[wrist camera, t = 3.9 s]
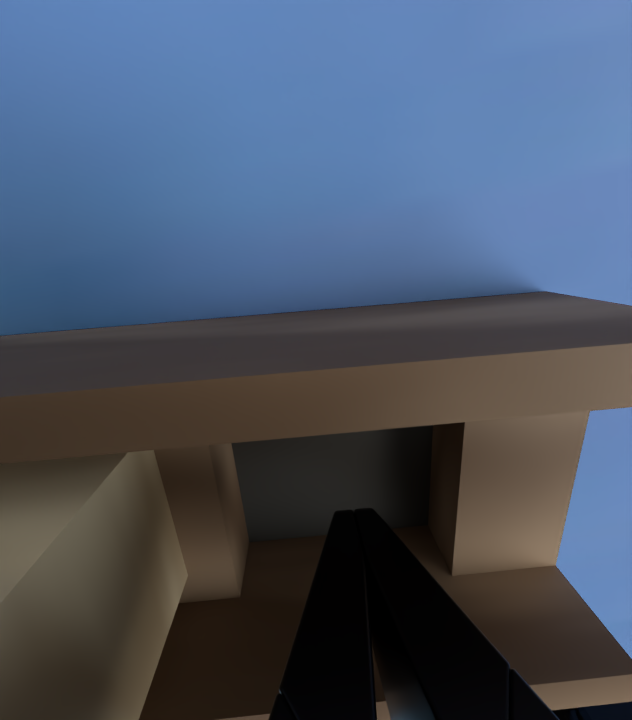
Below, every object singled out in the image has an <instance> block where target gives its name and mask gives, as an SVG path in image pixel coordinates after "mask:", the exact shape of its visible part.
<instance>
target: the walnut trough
mask: <svg viewBox="0 0 632 720" xmlns="http://www.w3.org/2000/svg"><path fill="white" fill-rule="evenodd" d="M627 407H632V306H629V305H624V304H618V303H612V302H606V301H600V300H594V299H588V298H582V297H576V296H570V295H564V294H558V293H552V292H533V293H521V294H509V295H497V296H484V297H472V298H460V299H447V300H435V301H423V302H411V303H398V304H386V305H374V306H361V307H349V308H337V309H325V310H312V311H300V312H288V313H275V314H263V315H251V316H239V317H226V318H214V319H202V320H189V321H177V322H165V323H153V324H140V325H128V326H116V327H103V328H91V329H79V330H67V331H54V332H42V333H30V334H17V335H5V336H0V464H5V463H16V462H27V461H38V460H49V459H60V458H71V457H82V456H94V455H105V454H116V453H127V452H138V451H149V450H154V453H155V457H156V461H157V464H158V468H159V472H160V475H161V479H162V483H163V486H164V490H165V494H166V497H167V501H168V504H169V508H170V512H171V515H172V519H173V523H174V526H175V530H176V534H177V537H178V541H179V545H180V548H181V552H182V556H183V559H184V563H185V567H186V570H187V574H188V577H187V580H186V583H185V586H184V589H183V592H182V594H181V597H180V600H179V603H178V606H177V609H176V612H175V615H174V618H173V621H172V624H171V627H170V630H169V632H168V635H167V638H166V641H165V644H164V647H163V650H162V653H161V656H160V659H159V662H158V665H157V668H156V670H155V673H154V676H153V679H152V682H151V685H150V688H149V691H148V694H147V697H146V700H145V703H144V706H143V708H142V711H141V714H140V717H139V720H268V719H269V716H270V713H271V710H272V706H273V703H274V700H275V697H276V695H277V694H278V693H279V685H280V682H281V679H282V676H283V673H284V669H285V666H286V663H287V660H288V657H289V653H290V650H291V647H292V644H293V641H294V638H295V634H296V631H297V628H298V625H299V622H300V619H301V615H302V612H303V609H304V606H305V603H306V599H307V596H308V593H309V590H310V587H311V584H312V580H313V577H314V574H315V571H316V568H317V565H318V561H319V558H320V555H321V552H322V549H323V545H324V542H325V539H326V536H327V533H328V530H329V526H330V523H331V520H332V517H333V514H334V512H335V511H337V510H348V509H351V510H353V512H354V510H355V509H359V508H373V509H374V510H375V511H376V512H377V513H378V514H379V515H380V517H381V518H382V519H383V520H384V521H385V522H386V523H387V525H388V526H389V527H390V528H391V529H392V530H393V531H394V532H395V534H396V535H397V536H398V537H399V538H400V539H401V540H402V542H403V543H404V544H405V545H406V546H407V547H408V548H409V550H410V551H411V552H412V553H413V554H414V555H415V556H416V558H417V559H418V560H419V561H420V562H421V563H422V564H423V565H424V567H425V568H426V569H427V570H428V571H429V572H430V573H431V575H432V576H433V577H434V578H435V579H436V580H437V581H438V583H439V584H440V585H441V586H442V587H443V588H444V589H445V591H446V592H447V593H448V594H449V595H450V596H451V597H452V598H453V600H454V601H455V602H456V603H457V604H458V605H459V606H460V608H461V609H462V610H463V611H464V612H465V613H466V614H467V616H468V617H469V618H470V619H471V620H472V621H473V622H474V624H475V625H476V626H477V627H478V628H479V629H480V630H481V631H482V633H483V634H484V635H485V636H486V637H487V638H488V639H489V641H490V642H491V643H492V644H493V645H494V646H495V647H496V649H497V650H498V651H499V652H500V653H501V654H502V655H503V657H504V658H505V659H506V660H507V661H508V662H509V664H510V669H515V670H516V671H517V672H518V673H519V674H520V676H521V677H522V678H523V679H524V680H525V681H526V682H527V684H528V685H529V686H530V687H531V688H532V689H533V690H534V692H535V693H536V694H537V695H538V696H539V697H540V698H541V700H542V701H543V702H544V703H545V704H546V705H547V706H548V707H549V708H550V709H551V710H560V709H569V708H578V707H587V706H596V705H605V704H614V703H623V702H632V659H631V658H630V657H629V655H628V654H627V653H626V652H625V650H624V649H623V648H622V647H621V646H620V644H619V643H618V642H617V641H616V639H615V638H614V637H613V636H612V634H611V633H610V632H609V631H608V630H607V628H606V627H605V626H604V625H603V623H602V622H601V621H600V620H599V618H598V617H597V616H596V615H595V614H594V612H593V611H592V610H591V609H590V607H589V606H588V605H587V604H586V602H585V601H584V600H583V599H582V598H581V596H580V595H579V594H578V593H577V591H576V590H575V589H574V588H573V586H572V585H571V584H570V583H569V581H568V580H567V579H566V578H565V577H564V575H563V574H562V573H561V572H560V570H559V569H558V568H557V567H556V561H557V557H558V552H559V548H560V543H561V539H562V534H563V530H564V525H565V521H566V516H567V512H568V507H569V503H570V498H571V494H572V489H573V485H574V480H575V476H576V471H577V467H578V462H579V458H580V453H581V449H582V444H583V440H584V435H585V431H586V426H587V422H588V417H589V413H590V411H593V410H604V409H615V408H627ZM372 654H373V668H374V682H375V696H376V711H377V720H391V718H390V714H389V710H388V706H387V702H386V699H385V695H384V691H383V687H382V683H381V679H380V675H379V671H378V667H377V663H376V659H375V655H374V652H373V648H372Z"/></svg>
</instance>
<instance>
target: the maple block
mask: <svg viewBox="0 0 632 720" xmlns="http://www.w3.org/2000/svg"><path fill="white" fill-rule="evenodd" d="M187 577H188V574H187V570H186V567H185V563H184V559H183V556H182V552H181V548H180V545H179V541H178V537H177V534H176V530H175V526H174V523H173V519H172V515H171V512H170V508H169V504H168V501H167V497H166V494H165V490H164V486H163V483H162V479H161V475H160V472H159V468H158V464H157V461H156V457H155V453H154V450H149V451H138V452H127V453H116V454H105V455H94V456H82V457H71V458H60V459H49V460H38V461H27V462H16V463H5V464H0V720H139V717H140V714H141V711H142V708H143V706H144V703H145V700H146V697H147V694H148V691H149V688H150V685H151V682H152V679H153V676H154V673H155V670H156V668H157V665H158V662H159V659H160V656H161V653H162V650H163V647H164V644H165V641H166V638H167V635H168V632H169V630H170V627H171V624H172V621H173V618H174V615H175V612H176V609H177V606H178V603H179V600H180V597H181V594H182V592H183V589H184V586H185V583H186V580H187Z"/></svg>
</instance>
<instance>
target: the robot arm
mask: <svg viewBox="0 0 632 720" xmlns="http://www.w3.org/2000/svg"><path fill="white" fill-rule="evenodd" d="M372 648H373V652H374V655H375V659H376V663H377V667H378V671H379V675H380V679H381V683H382V687H383V691H384V695H385V699H386V702H387V706H388V710H389V714H390V718H391V720H632V702H623V703H614V704H605V705H596V706H587V707H578V708H569V709H560V710H551V709H550V708H549V707H548V706H547V705H546V704H545V703H544V702H543V701H542V700H541V698H540V697H539V696H538V695H537V694H536V693H535V692H534V690H533V689H532V688H531V687H530V686H529V685H528V684H527V682H526V681H525V680H524V679H523V678H522V677H521V676H520V674H519V673H518V672H517V671H516V670H515V669H510V664H509V662H508V661H507V660H506V659H505V658H504V657H503V655H502V654H501V653H500V652H499V651H498V650H497V649H496V647H495V646H494V645H493V644H492V643H491V642H490V641H489V639H488V638H487V637H486V636H485V635H484V634H483V633H482V631H481V630H480V629H479V628H478V627H477V626H476V625H475V624H474V622H473V621H472V620H471V619H470V618H469V617H468V616H467V614H466V613H465V612H464V611H463V610H462V609H461V608H460V606H459V605H458V604H457V603H456V602H455V601H454V600H453V598H452V597H451V596H450V595H449V594H448V593H447V592H446V591H445V589H444V588H443V587H442V586H441V585H440V584H439V583H438V581H437V580H436V579H435V578H434V577H433V576H432V575H431V573H430V572H429V571H428V570H427V569H426V568H425V567H424V565H423V564H422V563H421V562H420V561H419V560H418V559H417V558H416V556H415V555H414V554H413V553H412V552H411V551H410V550H409V548H408V547H407V546H406V545H405V544H404V543H403V542H402V540H401V539H400V538H399V537H398V536H397V535H396V534H395V532H394V531H393V530H392V529H391V528H390V527H389V526H388V525H387V523H386V522H385V521H384V520H383V519H382V518H381V517H380V515H379V514H378V513H377V512H376V511H375V510H374V509H373V508H359V509H355V510H354V512H353V510H351V509H348V510H337V511H335V512H334V514H333V517H332V520H331V523H330V526H329V530H328V533H327V536H326V539H325V542H324V545H323V549H322V552H321V555H320V558H319V561H318V565H317V568H316V571H315V574H314V577H313V580H312V584H311V587H310V590H309V593H308V596H307V599H306V603H305V606H304V609H303V612H302V615H301V619H300V622H299V625H298V628H297V631H296V634H295V638H294V641H293V644H292V647H291V650H290V653H289V657H288V660H287V663H286V666H285V669H284V673H283V676H282V679H281V682H280V685H279V693H278V694H277V695H276V697H275V700H274V703H273V706H272V710H271V713H270V716H269V719H268V720H377V711H376V696H375V682H374V668H373V654H372Z"/></svg>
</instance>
